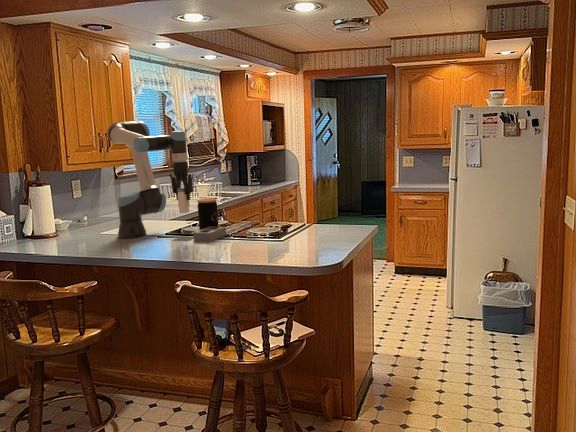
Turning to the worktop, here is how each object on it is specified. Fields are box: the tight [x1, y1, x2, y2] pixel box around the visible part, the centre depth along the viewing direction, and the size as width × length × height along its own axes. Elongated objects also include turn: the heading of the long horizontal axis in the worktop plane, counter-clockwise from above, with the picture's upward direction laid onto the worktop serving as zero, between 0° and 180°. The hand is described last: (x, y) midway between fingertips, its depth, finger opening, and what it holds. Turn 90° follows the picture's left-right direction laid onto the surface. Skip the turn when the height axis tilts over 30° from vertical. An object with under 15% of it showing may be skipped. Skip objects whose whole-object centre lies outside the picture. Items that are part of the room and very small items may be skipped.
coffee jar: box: [196, 198, 220, 230], centre depth 309 cm, size 11×11×18 cm
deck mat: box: [171, 235, 194, 242], centre depth 293 cm, size 10×10×1 cm
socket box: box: [192, 226, 227, 243], centre depth 291 cm, size 10×16×5 cm, turn 156°
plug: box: [177, 186, 190, 214], centre depth 289 cm, size 4×4×13 cm
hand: (184, 206), depth 290 cm, fingers closed on plug, 4 cm apart
